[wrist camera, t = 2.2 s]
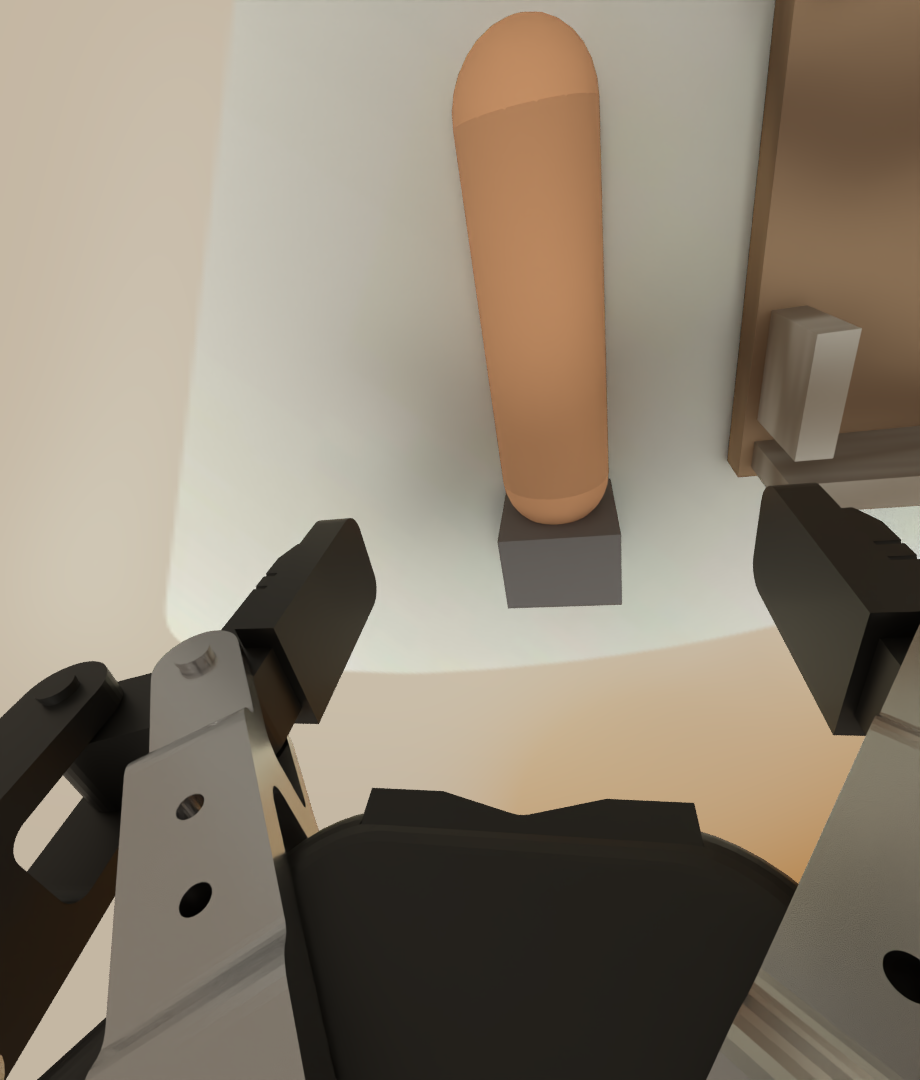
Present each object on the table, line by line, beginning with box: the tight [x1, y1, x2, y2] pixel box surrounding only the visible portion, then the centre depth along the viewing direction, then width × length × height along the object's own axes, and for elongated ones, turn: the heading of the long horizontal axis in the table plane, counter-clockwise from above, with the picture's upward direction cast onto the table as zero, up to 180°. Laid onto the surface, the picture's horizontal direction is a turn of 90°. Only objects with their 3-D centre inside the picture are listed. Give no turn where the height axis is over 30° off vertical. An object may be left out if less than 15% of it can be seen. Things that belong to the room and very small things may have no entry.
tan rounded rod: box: [452, 12, 622, 608], centre depth 18 cm, size 18×4×4 cm, turn 10°
